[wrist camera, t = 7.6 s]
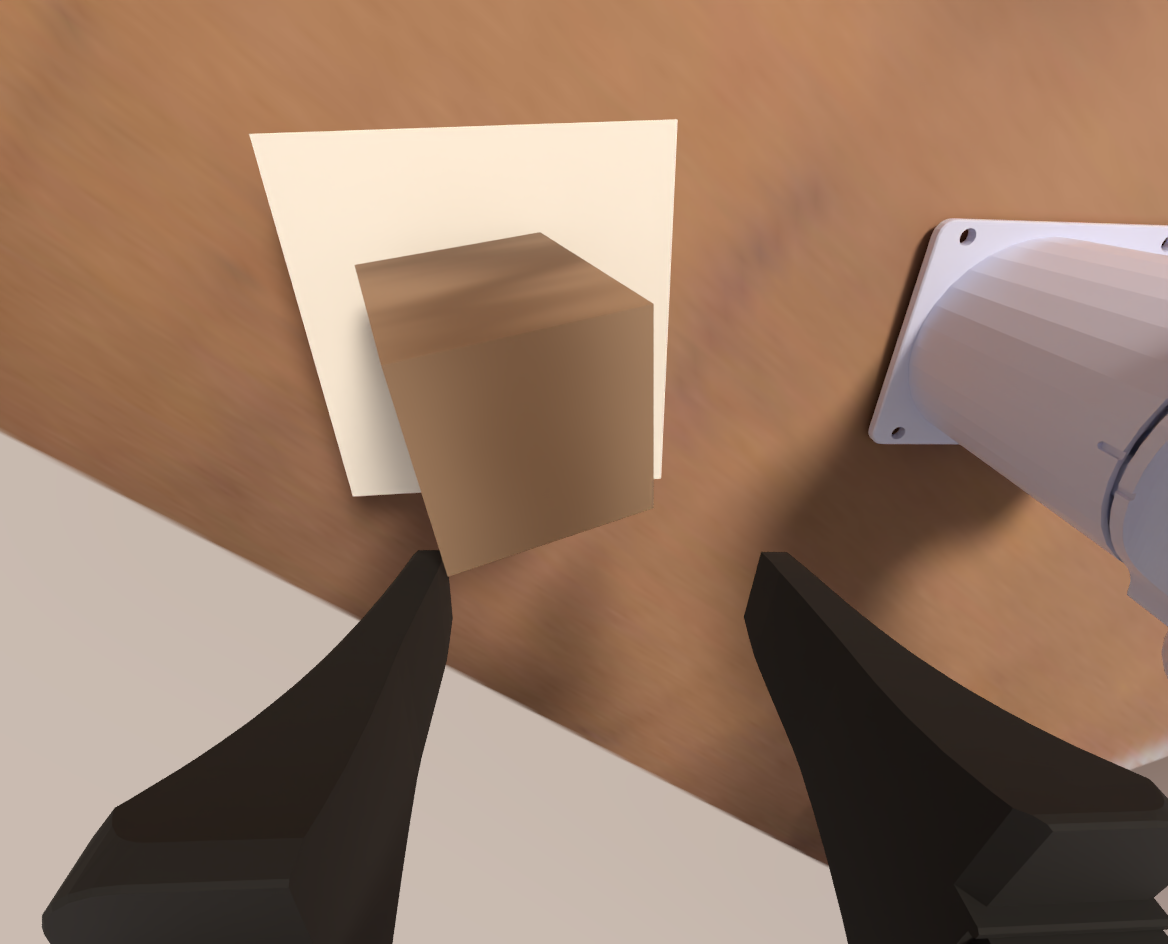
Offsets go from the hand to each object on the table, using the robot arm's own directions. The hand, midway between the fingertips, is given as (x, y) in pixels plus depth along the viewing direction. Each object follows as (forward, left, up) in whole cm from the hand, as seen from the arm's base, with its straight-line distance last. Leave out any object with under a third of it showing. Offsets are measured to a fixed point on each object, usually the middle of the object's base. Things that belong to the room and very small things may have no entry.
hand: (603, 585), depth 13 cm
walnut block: (+3, -4, -5) cm, 7 cm away
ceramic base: (+3, -4, -10) cm, 11 cm away
